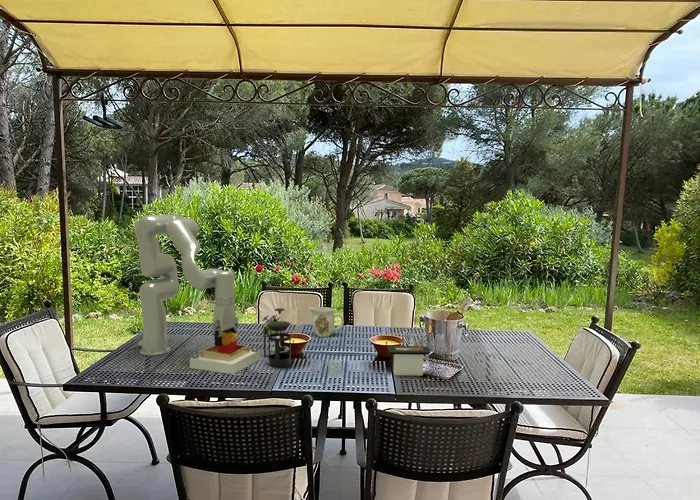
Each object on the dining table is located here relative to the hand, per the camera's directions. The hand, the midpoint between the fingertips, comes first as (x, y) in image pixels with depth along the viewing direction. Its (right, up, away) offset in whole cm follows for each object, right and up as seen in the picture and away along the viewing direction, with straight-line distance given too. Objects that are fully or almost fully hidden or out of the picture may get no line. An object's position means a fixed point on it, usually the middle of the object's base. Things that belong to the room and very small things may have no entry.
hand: (225, 342), depth 213 cm
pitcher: (+39, -5, +47) cm, 61 cm away
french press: (+21, -9, +1) cm, 23 cm away
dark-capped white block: (+73, -11, -9) cm, 75 cm away
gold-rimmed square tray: (0, -9, +1) cm, 9 cm away
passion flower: (+12, -4, +50) cm, 52 cm away
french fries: (0, -8, +2) cm, 8 cm away
